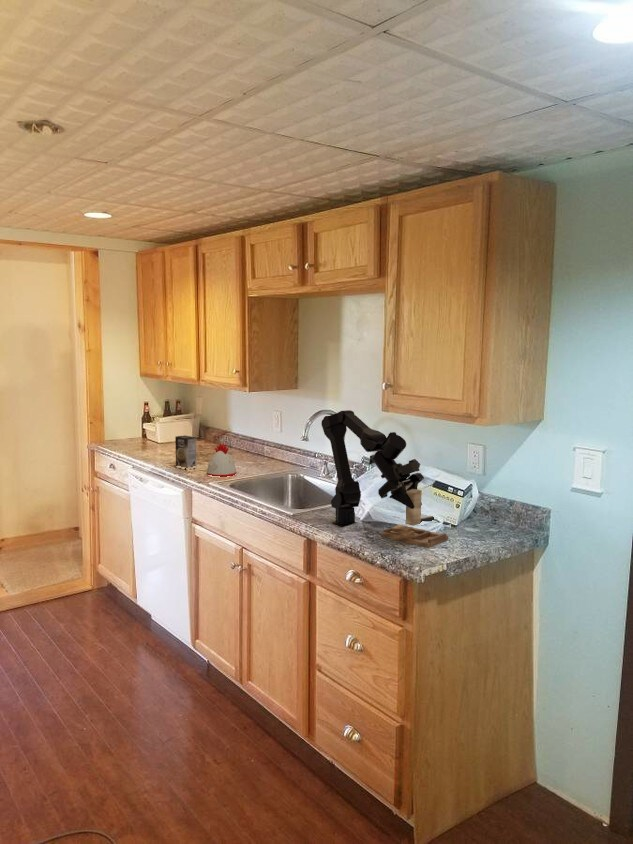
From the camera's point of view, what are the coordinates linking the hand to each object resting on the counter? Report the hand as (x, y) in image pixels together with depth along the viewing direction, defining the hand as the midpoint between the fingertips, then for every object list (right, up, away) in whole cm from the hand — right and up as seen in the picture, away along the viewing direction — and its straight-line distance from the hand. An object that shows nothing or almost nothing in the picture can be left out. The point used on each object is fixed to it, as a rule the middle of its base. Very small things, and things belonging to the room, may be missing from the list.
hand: (417, 506), depth 201 cm
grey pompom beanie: (-77, +1, +110) cm, 134 cm away
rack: (0, -12, +9) cm, 15 cm away
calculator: (+5, -10, +32) cm, 34 cm away
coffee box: (-97, +3, +125) cm, 158 cm away
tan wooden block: (-1, -5, +2) cm, 6 cm away
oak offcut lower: (-3, -11, +12) cm, 16 cm away
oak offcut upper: (-3, -10, +12) cm, 16 cm away
